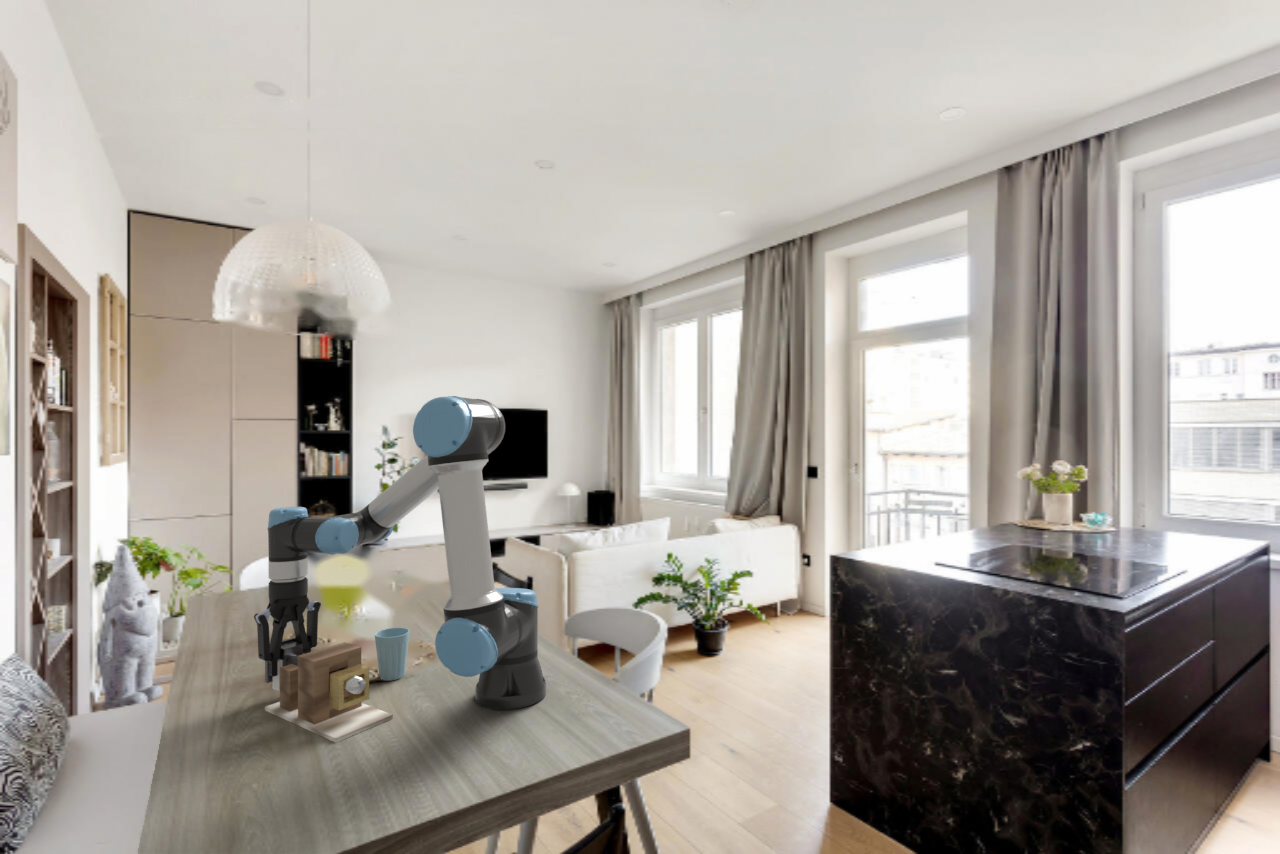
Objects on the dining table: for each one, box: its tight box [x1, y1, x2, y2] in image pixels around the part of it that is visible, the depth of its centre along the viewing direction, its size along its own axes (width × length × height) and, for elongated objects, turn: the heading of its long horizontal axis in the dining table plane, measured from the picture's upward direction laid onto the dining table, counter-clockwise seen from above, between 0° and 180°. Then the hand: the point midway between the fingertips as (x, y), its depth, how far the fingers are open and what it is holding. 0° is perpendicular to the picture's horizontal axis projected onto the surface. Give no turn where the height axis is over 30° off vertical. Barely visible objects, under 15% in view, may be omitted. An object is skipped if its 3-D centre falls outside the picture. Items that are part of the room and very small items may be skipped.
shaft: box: [264, 636, 366, 694], centre depth 133 cm, size 29×7×8 cm, turn 56°
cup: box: [374, 627, 410, 682], centre depth 151 cm, size 8×8×10 cm
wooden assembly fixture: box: [264, 641, 394, 743], centre depth 131 cm, size 26×12×13 cm, turn 56°
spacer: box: [330, 663, 370, 710], centre depth 127 cm, size 3×6×6 cm, turn 146°
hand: (288, 685), depth 139 cm, fingers closed on shaft, 4 cm apart
